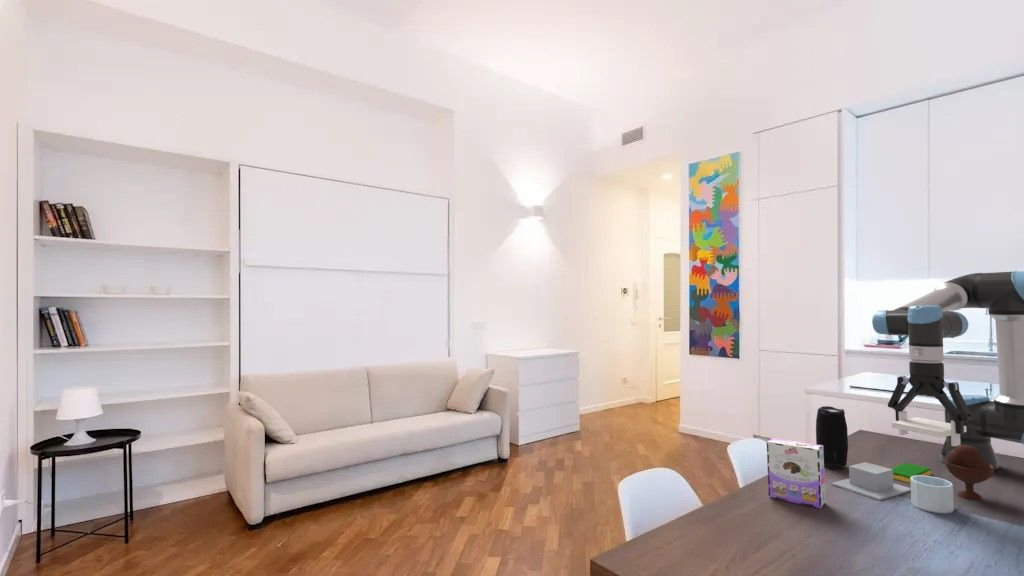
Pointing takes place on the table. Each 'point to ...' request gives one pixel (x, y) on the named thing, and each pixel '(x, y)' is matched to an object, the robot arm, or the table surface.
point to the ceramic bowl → (932, 494)
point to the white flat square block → (925, 427)
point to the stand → (872, 481)
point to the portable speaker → (832, 436)
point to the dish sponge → (909, 471)
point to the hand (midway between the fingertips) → (928, 439)
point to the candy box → (796, 472)
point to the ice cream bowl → (968, 469)
